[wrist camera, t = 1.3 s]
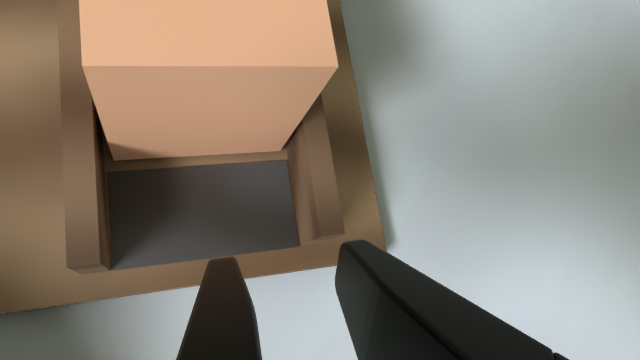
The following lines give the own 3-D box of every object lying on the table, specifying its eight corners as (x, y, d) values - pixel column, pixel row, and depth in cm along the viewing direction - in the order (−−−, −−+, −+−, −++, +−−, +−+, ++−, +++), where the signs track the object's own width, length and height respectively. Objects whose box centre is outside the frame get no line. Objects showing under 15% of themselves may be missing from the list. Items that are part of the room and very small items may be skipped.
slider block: (279, 150, 22) (338, 66, 14) (113, 160, 19) (82, 65, 12) (257, -3, 23) (299, -148, 16) (103, -11, 21) (70, -184, 14)
